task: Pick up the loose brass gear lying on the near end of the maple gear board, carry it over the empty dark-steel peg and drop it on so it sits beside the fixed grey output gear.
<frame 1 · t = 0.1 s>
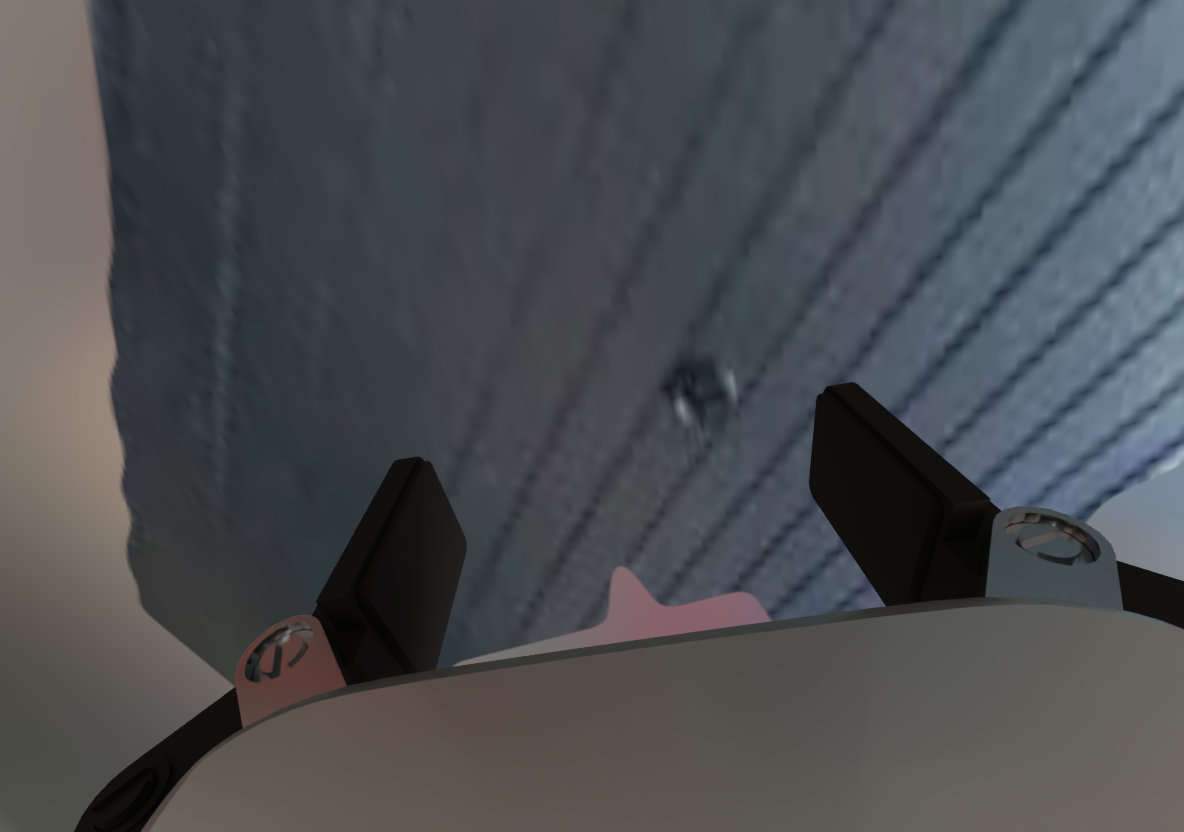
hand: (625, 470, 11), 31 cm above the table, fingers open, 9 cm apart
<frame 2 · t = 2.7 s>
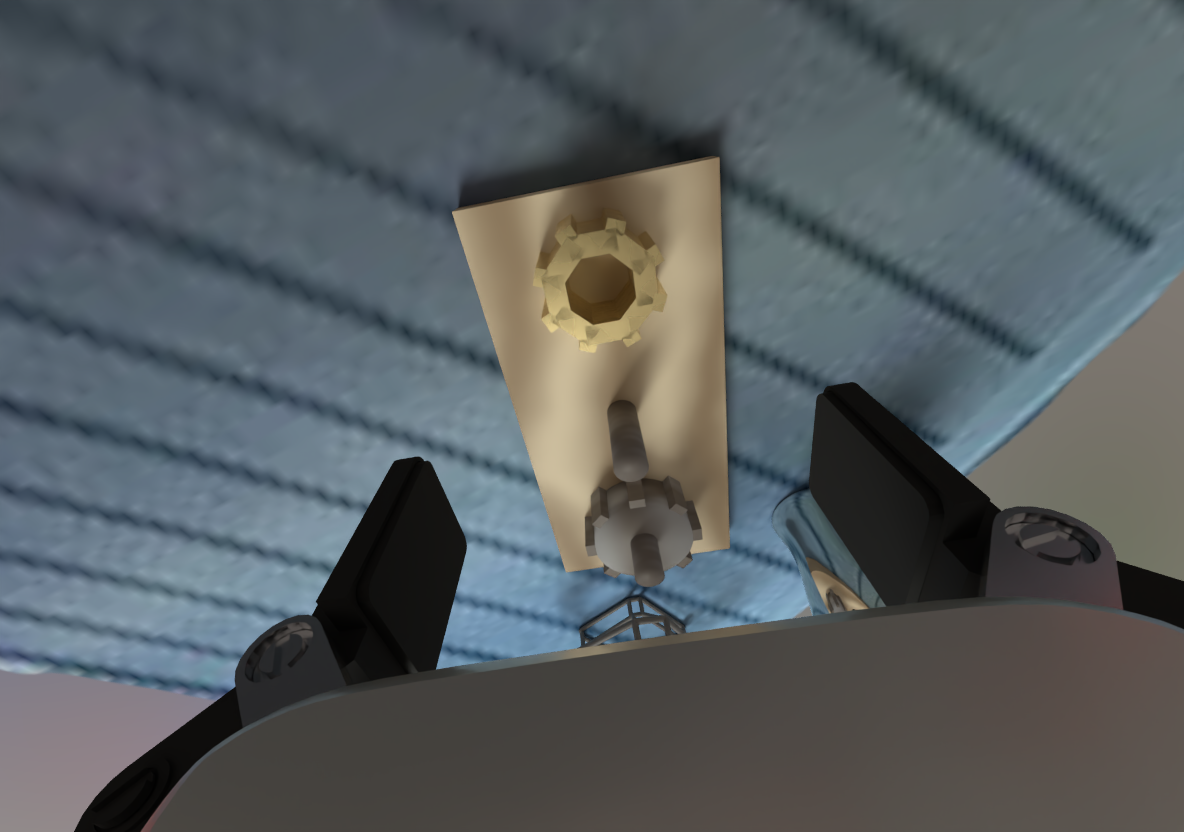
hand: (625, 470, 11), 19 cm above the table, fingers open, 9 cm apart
gear board: (620, 407, 32), on the table
geometric lantern: (637, 622, 46), on the table
brass gear: (597, 272, 26), point 1 cm above the table, touching gear board
beer glass: (806, 512, 39), on the table
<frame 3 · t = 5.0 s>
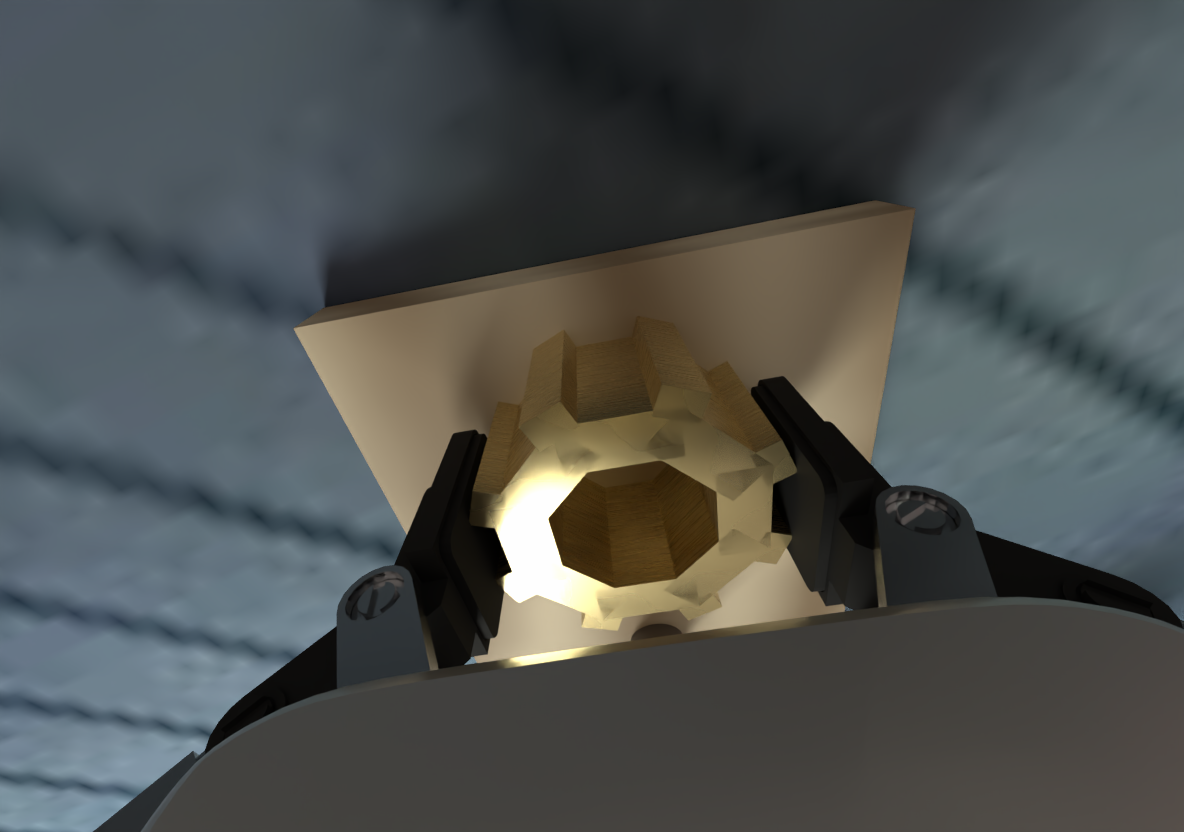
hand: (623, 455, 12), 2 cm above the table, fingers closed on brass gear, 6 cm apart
gear board: (652, 613, 19), on the table
brass gear: (620, 436, 12), point 1 cm above the table, touching gear board, gripper
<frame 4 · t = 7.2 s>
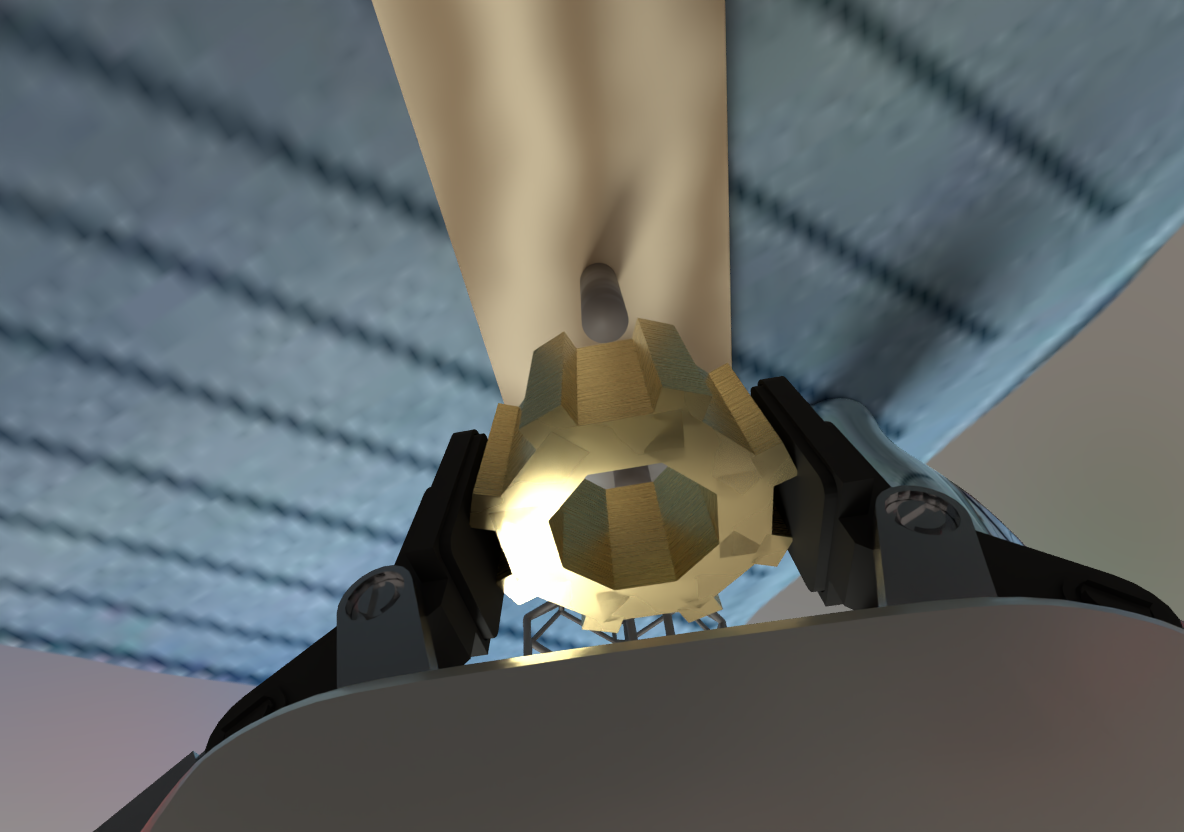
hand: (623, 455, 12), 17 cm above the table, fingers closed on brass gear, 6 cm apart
gear board: (598, 283, 26), on the table
geometric lantern: (625, 575, 40), on the table
brass gear: (620, 438, 12), point 16 cm above the table, touching gripper
beer glass: (825, 432, 32), on the table
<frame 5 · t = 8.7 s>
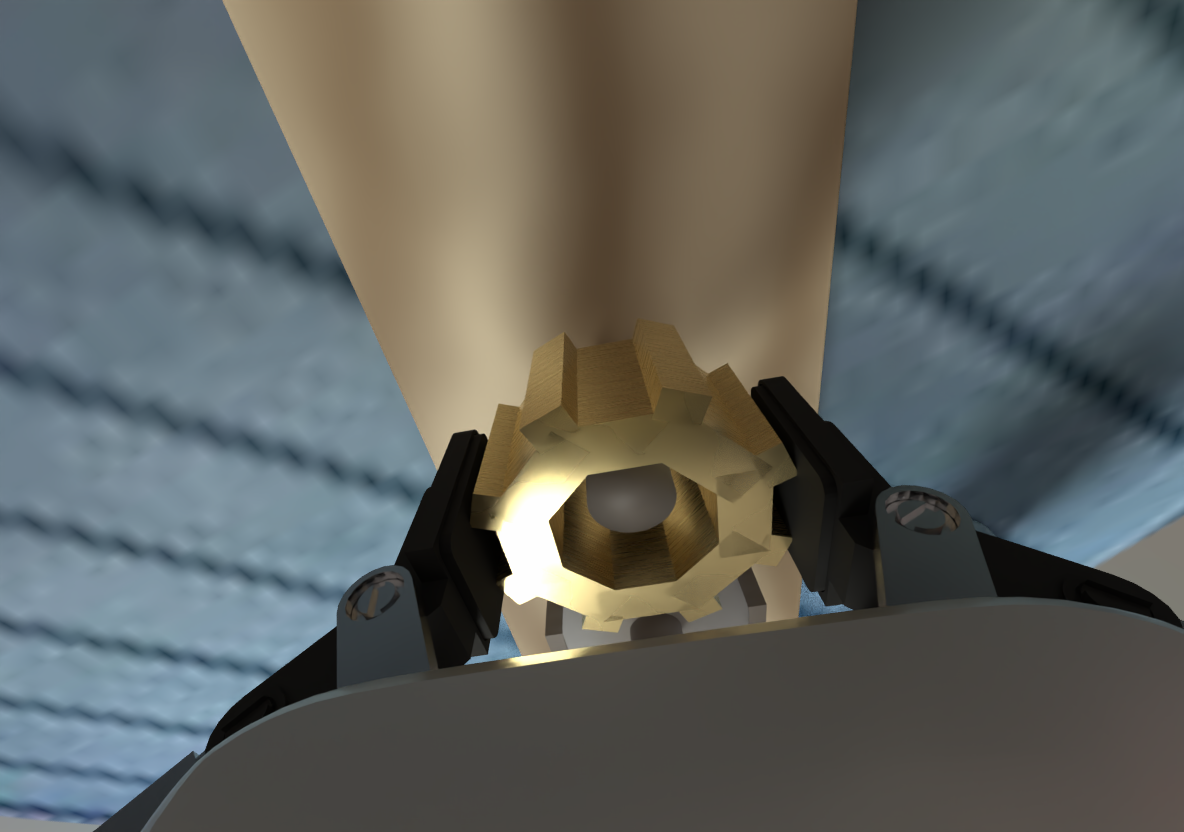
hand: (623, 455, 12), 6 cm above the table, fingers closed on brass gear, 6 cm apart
gear board: (611, 371, 17), on the table
brass gear: (620, 438, 12), point 5 cm above the table, touching gripper
when the fingers open (5 cm above the table, at t = 9.8 s): brass gear drops 2 cm, resting on gear board.
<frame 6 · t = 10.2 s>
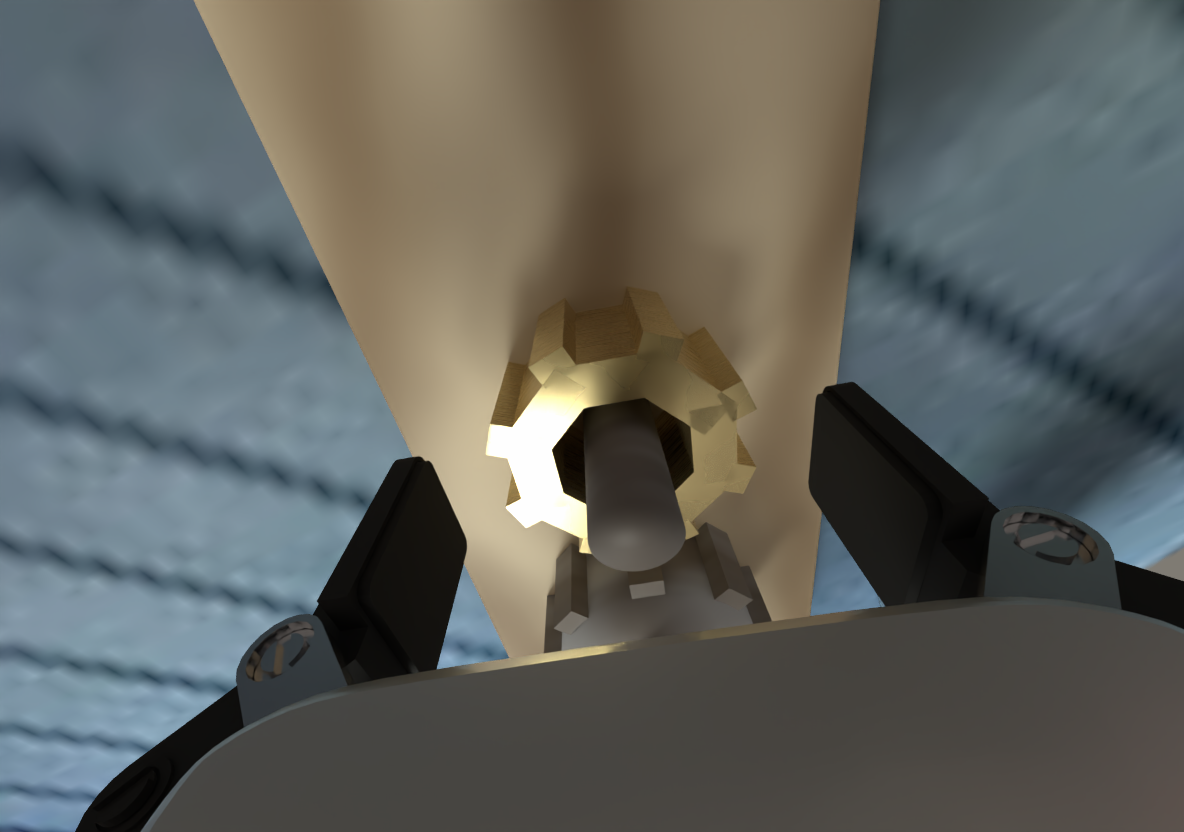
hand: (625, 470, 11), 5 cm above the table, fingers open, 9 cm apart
gear board: (612, 387, 16), on the table
brass gear: (613, 394, 14), point 1 cm above the table, touching gear board
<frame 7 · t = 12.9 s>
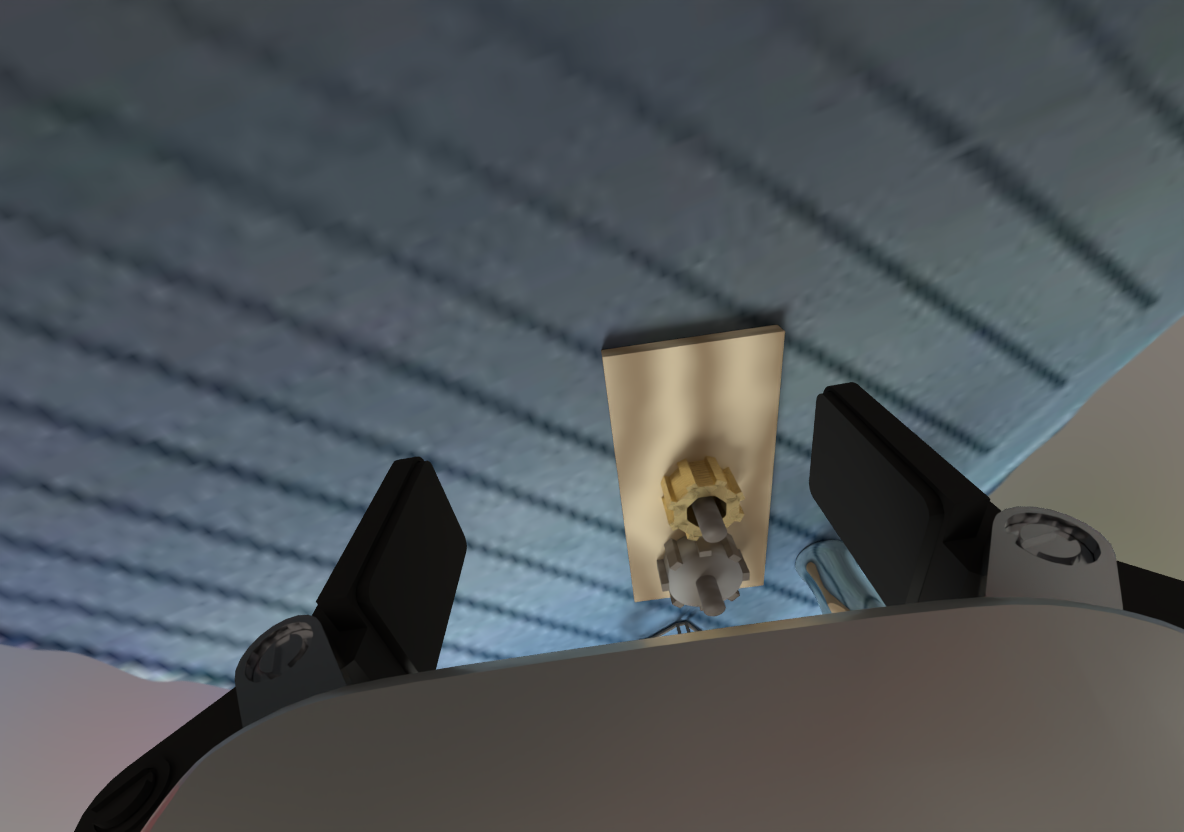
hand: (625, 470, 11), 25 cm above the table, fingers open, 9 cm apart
gear board: (692, 480, 43), on the table
brass gear: (696, 485, 42), point 1 cm above the table, touching gear board
beer glass: (821, 557, 50), on the table
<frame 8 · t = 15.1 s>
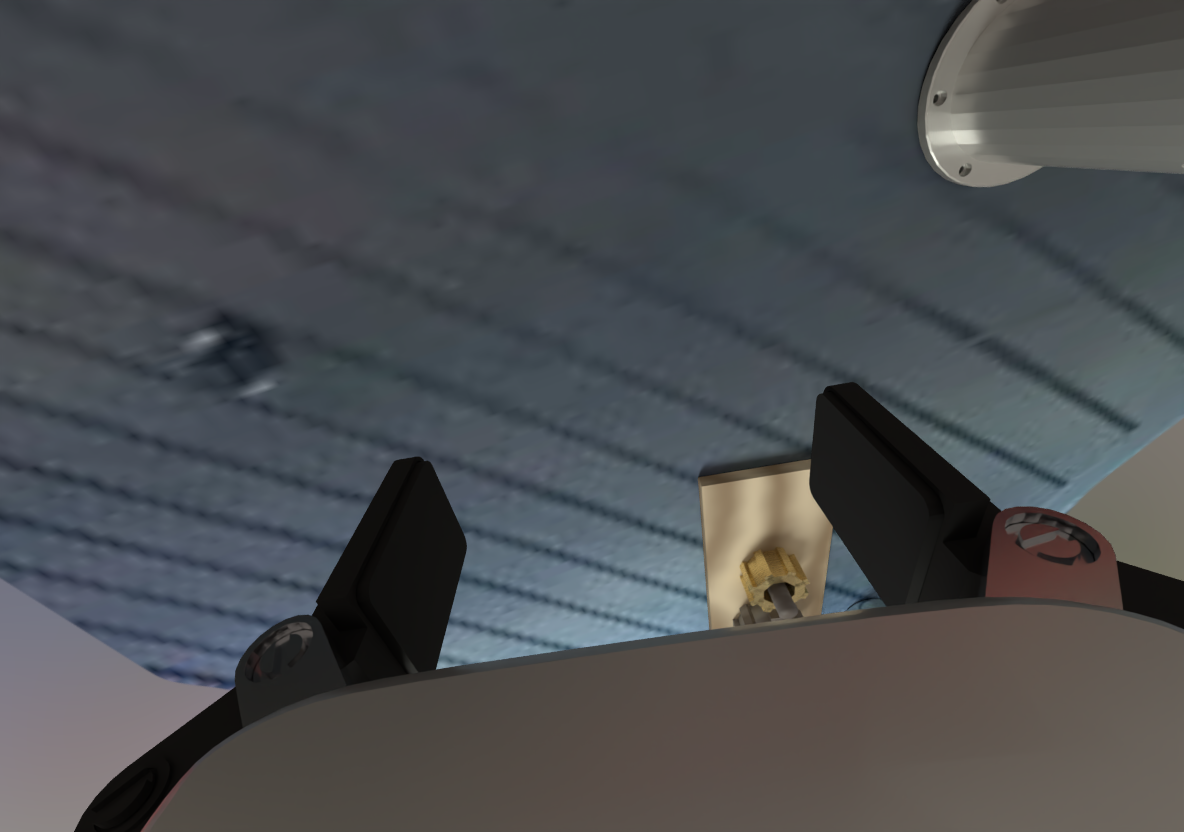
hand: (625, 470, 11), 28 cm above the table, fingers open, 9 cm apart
gear board: (763, 560, 55), on the table
brass gear: (767, 567, 53), point 1 cm above the table, touching gear board
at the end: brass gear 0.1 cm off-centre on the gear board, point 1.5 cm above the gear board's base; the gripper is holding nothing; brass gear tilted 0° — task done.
